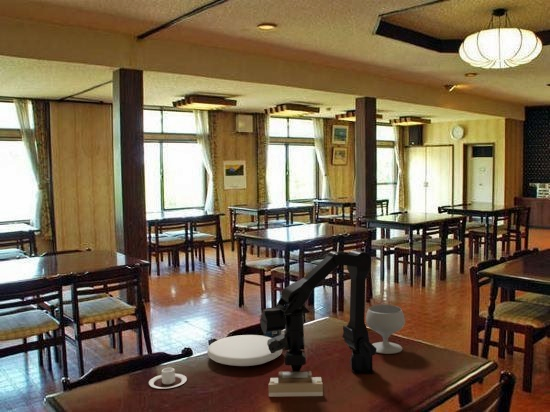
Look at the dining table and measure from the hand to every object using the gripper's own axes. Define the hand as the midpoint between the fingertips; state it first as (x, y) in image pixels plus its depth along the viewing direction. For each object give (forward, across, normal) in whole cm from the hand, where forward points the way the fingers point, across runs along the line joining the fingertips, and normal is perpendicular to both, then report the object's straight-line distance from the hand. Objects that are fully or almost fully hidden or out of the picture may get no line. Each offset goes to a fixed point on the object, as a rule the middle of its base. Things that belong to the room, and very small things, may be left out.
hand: (295, 376), depth 165 cm
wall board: (+2, +4, 0) cm, 4 cm away
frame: (+1, +5, 0) cm, 5 cm away
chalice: (+3, -30, +33) cm, 44 cm away
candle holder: (+3, -3, -41) cm, 41 cm away
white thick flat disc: (+3, -24, -18) cm, 30 cm away
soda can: (+3, -43, -9) cm, 44 cm away
